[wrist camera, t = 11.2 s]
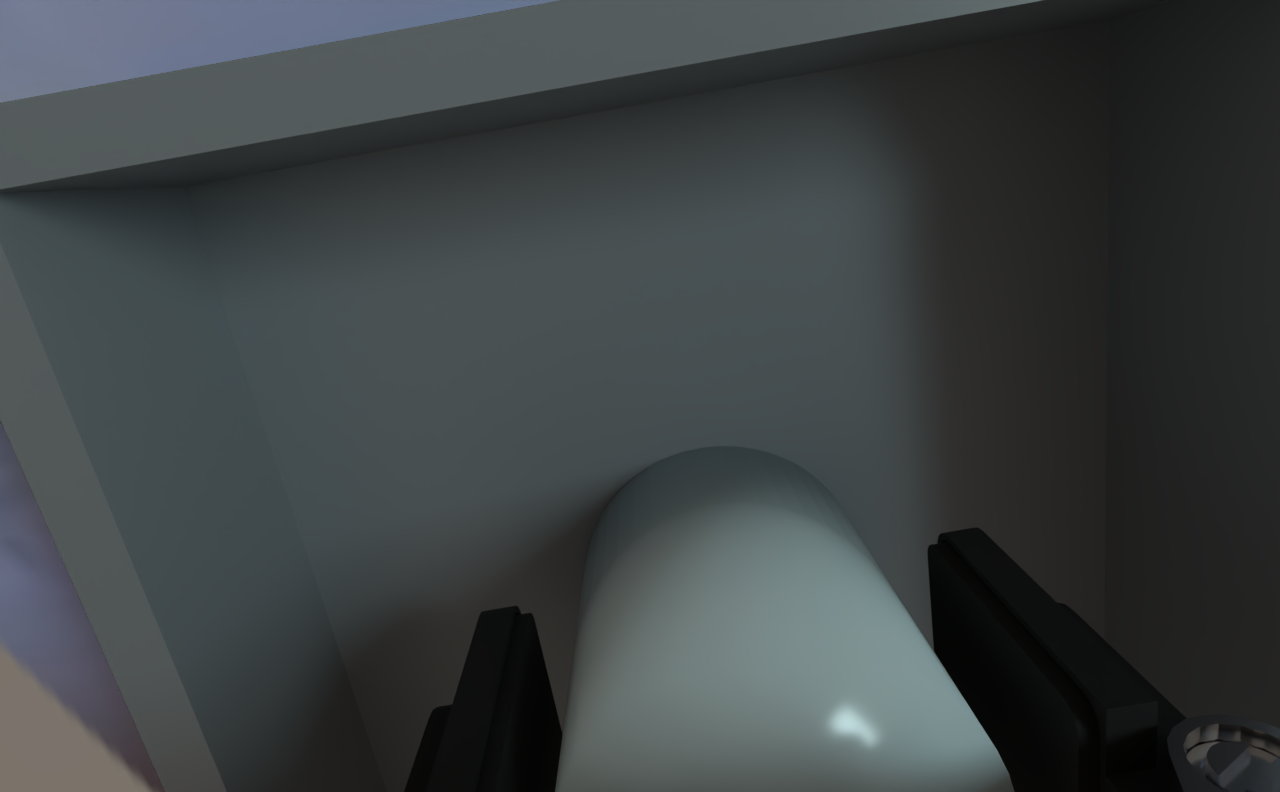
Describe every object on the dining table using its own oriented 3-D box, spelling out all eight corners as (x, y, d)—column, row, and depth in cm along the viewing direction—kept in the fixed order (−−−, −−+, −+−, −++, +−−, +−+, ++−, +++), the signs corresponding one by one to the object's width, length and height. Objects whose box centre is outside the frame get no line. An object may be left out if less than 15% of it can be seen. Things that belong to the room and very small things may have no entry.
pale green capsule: (843, 424, 13) (1010, 615, 7) (869, 670, 14) (1026, 997, 9) (560, 471, 13) (501, 693, 7) (612, 709, 15) (596, 1055, 9)
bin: (1137, -39, 12) (1442, -161, 7) (1120, 849, 17) (1295, 1082, 13) (137, 143, 12) (-129, 126, 8) (422, 964, 17) (358, 1230, 13)
